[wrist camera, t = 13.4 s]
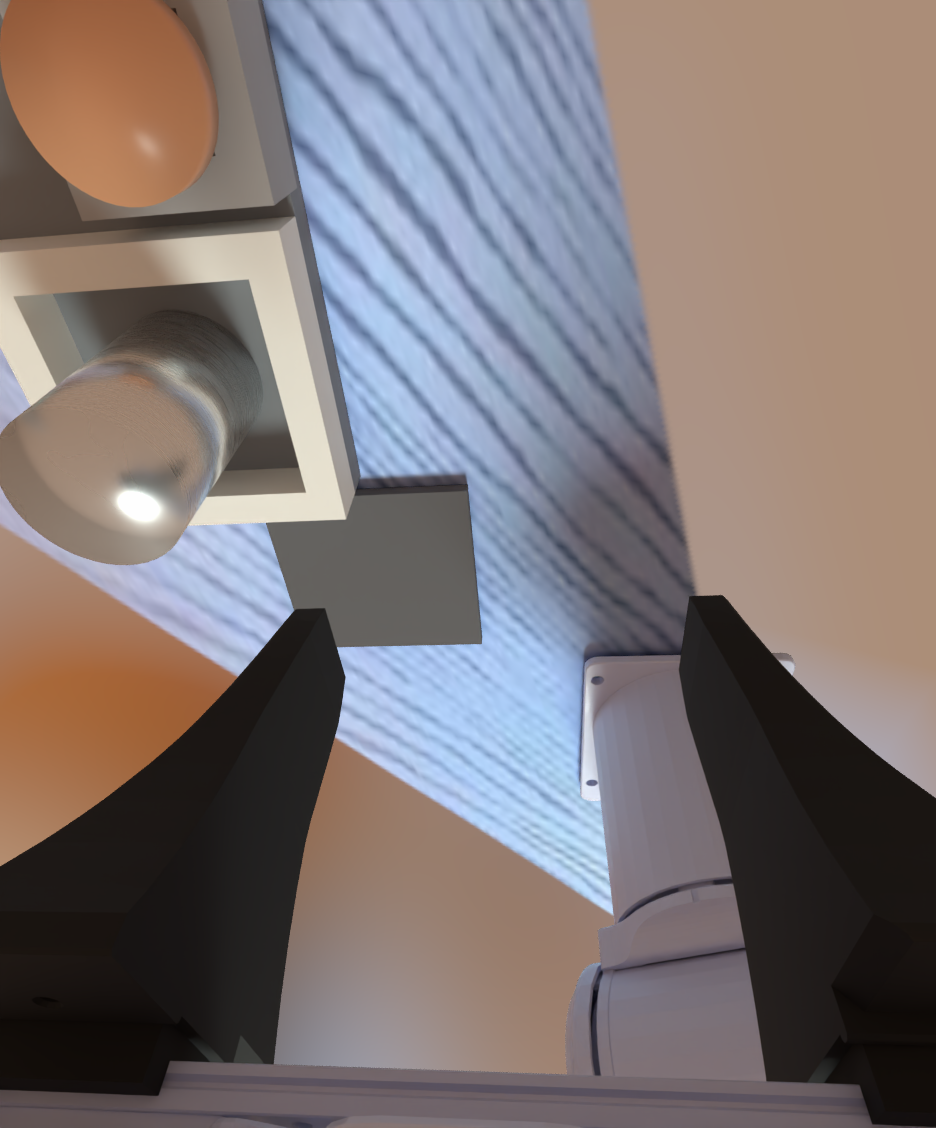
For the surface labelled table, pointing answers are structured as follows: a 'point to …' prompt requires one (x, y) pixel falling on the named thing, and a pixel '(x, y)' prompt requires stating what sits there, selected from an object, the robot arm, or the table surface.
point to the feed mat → (388, 568)
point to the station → (192, 277)
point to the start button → (111, 95)
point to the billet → (133, 439)
